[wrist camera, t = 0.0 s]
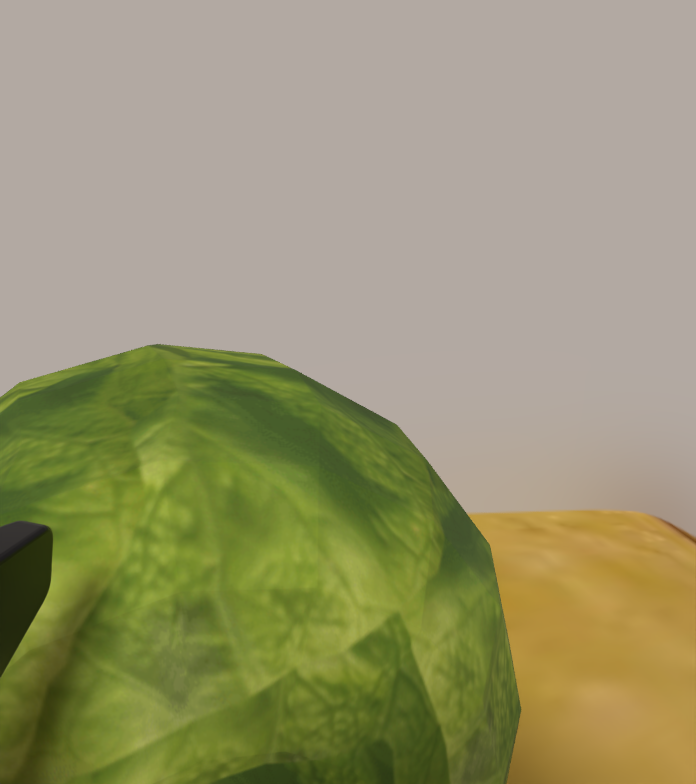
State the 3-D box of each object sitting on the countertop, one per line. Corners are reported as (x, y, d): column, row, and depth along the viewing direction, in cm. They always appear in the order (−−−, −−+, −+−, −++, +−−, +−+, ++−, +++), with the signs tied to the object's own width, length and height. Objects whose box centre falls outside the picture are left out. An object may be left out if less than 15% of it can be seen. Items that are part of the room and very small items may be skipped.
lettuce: (337, 597, 37) (320, 294, 33) (644, 1096, 15) (699, 371, 11) (-1, 673, 31) (-70, 323, 27) (-290, 1616, 10) (-813, 581, 6)
